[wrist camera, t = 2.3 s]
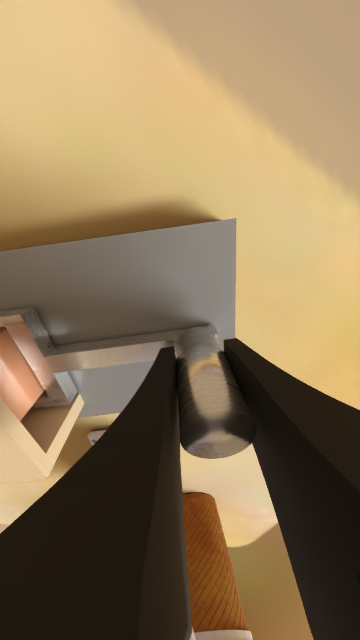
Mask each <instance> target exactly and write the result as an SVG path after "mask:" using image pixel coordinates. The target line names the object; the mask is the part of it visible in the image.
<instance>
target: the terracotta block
mask: <svg viewBox="0 0 360 640" xmlns="http://www.w3.org/2000/svg"><path fill="white" fill-rule="evenodd" d="M44 390H45V389H44V388H43V386H42V384H41V383H40V381H39V380H38V378H37V377H36V375H35V373H34V372H33V370H32V369H31V367H30V365H29V364H28V362H27V361H26V359H25V357H24V356H23V354H22V353H21V351H20V349H19V348H18V346H17V345H16V343H15V341H14V340H13V338H12V337H11V335H10V333H9V332H8V330H7V329H6V327H0V397H1V398H2V399H3V401H4V402H5V403H6V405H7V406H8V407H9V408H10V410H11V411H12V412H13V413H14V415H15V416H16V417H17V418H18V420H19V421H21V420H22V418H23V417H24V416H25V414H26V413H27V412H28V411H29V409H30V408H31V407H32V406H33V404H34V403H35V402H36V400H37V399H38V398H39V397H40V395H41V394H42V393H43V391H44Z"/></svg>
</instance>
